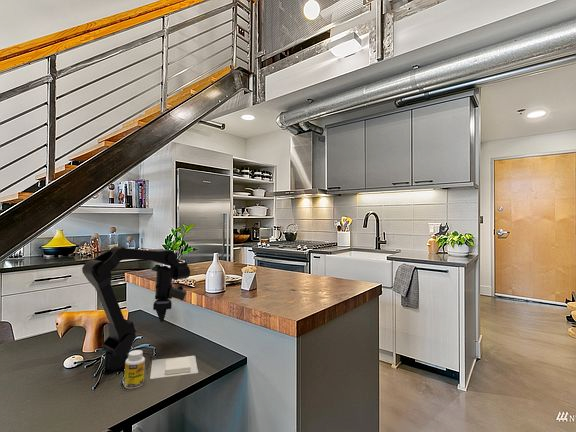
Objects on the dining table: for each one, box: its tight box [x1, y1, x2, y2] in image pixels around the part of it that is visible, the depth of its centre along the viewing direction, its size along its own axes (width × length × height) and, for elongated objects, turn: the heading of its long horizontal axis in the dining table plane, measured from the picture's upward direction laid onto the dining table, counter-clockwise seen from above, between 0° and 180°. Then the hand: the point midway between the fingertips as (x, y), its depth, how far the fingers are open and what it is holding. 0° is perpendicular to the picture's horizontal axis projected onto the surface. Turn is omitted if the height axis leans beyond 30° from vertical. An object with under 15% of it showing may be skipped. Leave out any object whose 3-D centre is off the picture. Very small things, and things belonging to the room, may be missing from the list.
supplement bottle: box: [123, 349, 146, 390], centre depth 98 cm, size 6×6×10 cm
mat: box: [149, 355, 199, 380], centre depth 110 cm, size 15×14×1 cm
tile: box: [165, 357, 190, 375], centre depth 109 cm, size 8×2×8 cm
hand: (162, 321), depth 122 cm, fingers closed
